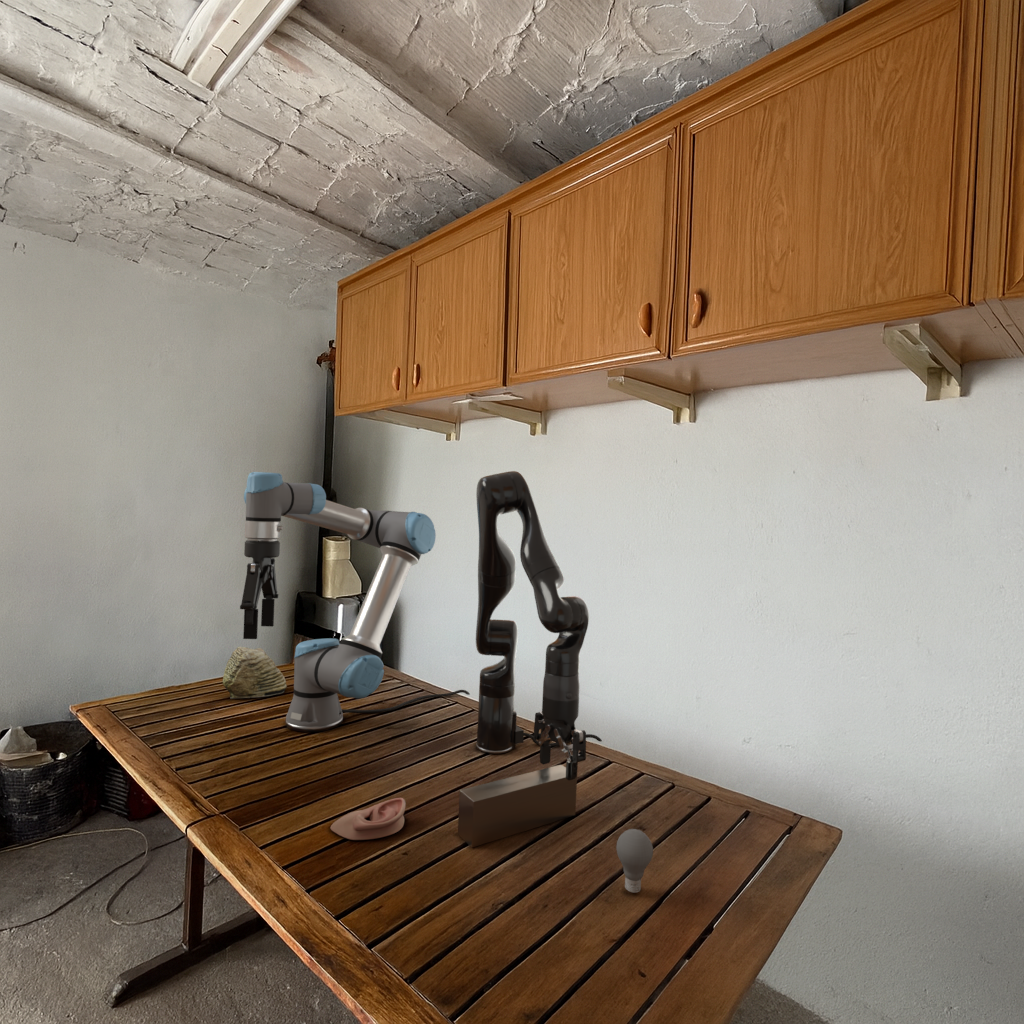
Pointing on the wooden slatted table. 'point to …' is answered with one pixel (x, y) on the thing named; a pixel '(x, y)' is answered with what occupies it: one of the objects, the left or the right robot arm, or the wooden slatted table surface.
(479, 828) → the bar
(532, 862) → the wooden slatted table surface
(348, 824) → the anatomical model
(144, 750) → the wooden slatted table surface
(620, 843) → the light bulb
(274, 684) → the fossil
